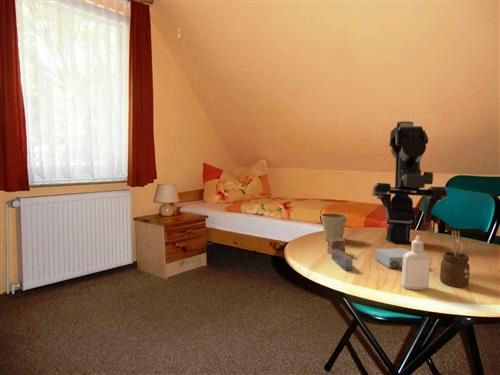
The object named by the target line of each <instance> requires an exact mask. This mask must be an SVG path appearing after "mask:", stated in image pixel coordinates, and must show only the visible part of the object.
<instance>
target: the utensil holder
mask: <svg viewBox="0 0 500 375" xmlns="http://www.w3.org/2000/svg"><path fill="white" fill-rule="evenodd" d="M459 244H460V245H459ZM458 245H459V246H460V247H457V246H458ZM451 247H452V248H453V249H451V251H445V252H443V255H442V258H443V259H442V260H441V263H440V270H439V271H440V272H439V280H440V282H441V283H442V284H444V285H446V286H449V287H455V288H466V287H468V285H469V282H470V281H469V280H470V271H471V270H470V264H469V261H470V260H469V258H470V257H469V255H468V254H466V253H463V250H464V249H463V248H464V247H463V241H462V240H460V231H459V230H458V231H456V230H455V231H454V230H452V231H451ZM458 248H460V250H459V251H458Z"/></svg>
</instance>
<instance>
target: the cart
mask: <svg viewBox="0 0 500 375" xmlns="http://www.w3.org/2000/svg"><path fill="white" fill-rule="evenodd" d="M409 251H410V250H409V249H407V248H375V253H374V254H375V256H374V258H375V259H376V260H377V261H378V262H380V263H381V264H382V265H384V266H386V267H387V268H390V269H391V268H393V269H394V270H397V269H399V268H402V267H403V256H404V254H405V253H407V252H409Z"/></svg>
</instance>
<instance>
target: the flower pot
mask: <svg viewBox="0 0 500 375" xmlns="http://www.w3.org/2000/svg"><path fill="white" fill-rule="evenodd" d="M320 217H321V220H322V229H323V237H324V240H325V241H328V238H342V239H343V238H344V233H345V228H346V227H345V226H346V222H347V219H348V218H349V216H348V215H347V214H344V213H336V212H328V213H327V212H326V213H320ZM343 240H344V239H343Z"/></svg>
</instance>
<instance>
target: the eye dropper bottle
mask: <svg viewBox="0 0 500 375" xmlns="http://www.w3.org/2000/svg"><path fill="white" fill-rule="evenodd" d="M411 242H412V243H411V247H410V248H411V249H410V250H409V252H407V253H405V254H404V256H403V267H401V268H402V271H401V286H402V287H404V288H405V289H407V290H413V291H423V290H427V289H428V288H429V283H430V272H431V271H430V269H431V257H430V255H429V254H428V253H426V252H425V251H424V244H425V243H424V241H422V240H421V236H420V235H416V236H415V239H414V240H411Z"/></svg>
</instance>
